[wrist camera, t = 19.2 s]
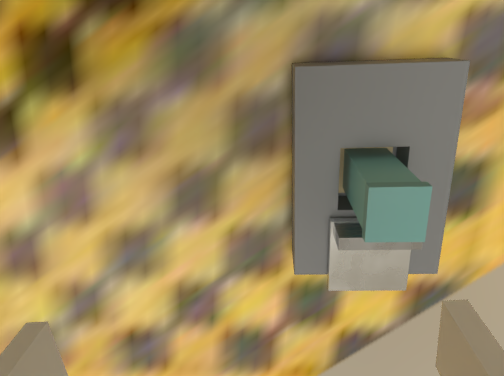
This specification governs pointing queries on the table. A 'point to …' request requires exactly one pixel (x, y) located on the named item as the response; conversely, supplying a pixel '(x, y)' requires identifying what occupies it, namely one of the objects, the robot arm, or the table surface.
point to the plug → (385, 196)
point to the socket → (371, 142)
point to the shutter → (365, 259)
